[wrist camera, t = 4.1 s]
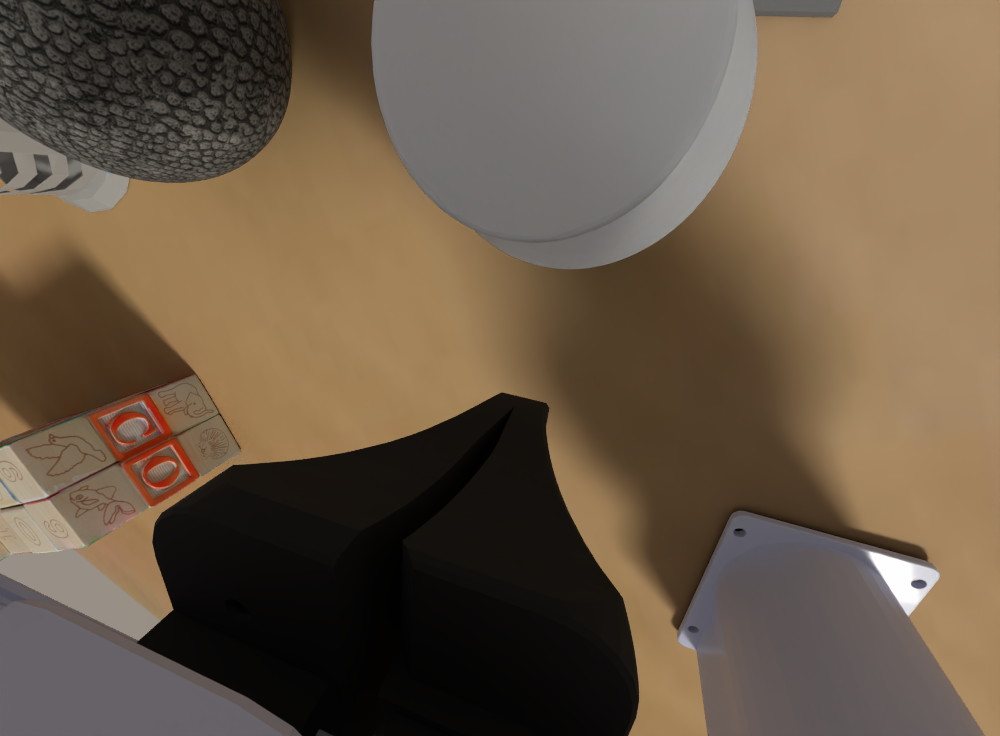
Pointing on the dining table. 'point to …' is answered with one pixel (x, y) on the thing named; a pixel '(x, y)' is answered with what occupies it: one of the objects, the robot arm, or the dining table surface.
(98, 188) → the french press
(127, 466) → the stack of blocks
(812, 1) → the mat
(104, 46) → the decorative ball
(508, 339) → the dining table surface
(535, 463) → the robot arm
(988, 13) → the dining table surface
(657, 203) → the pill bottle
